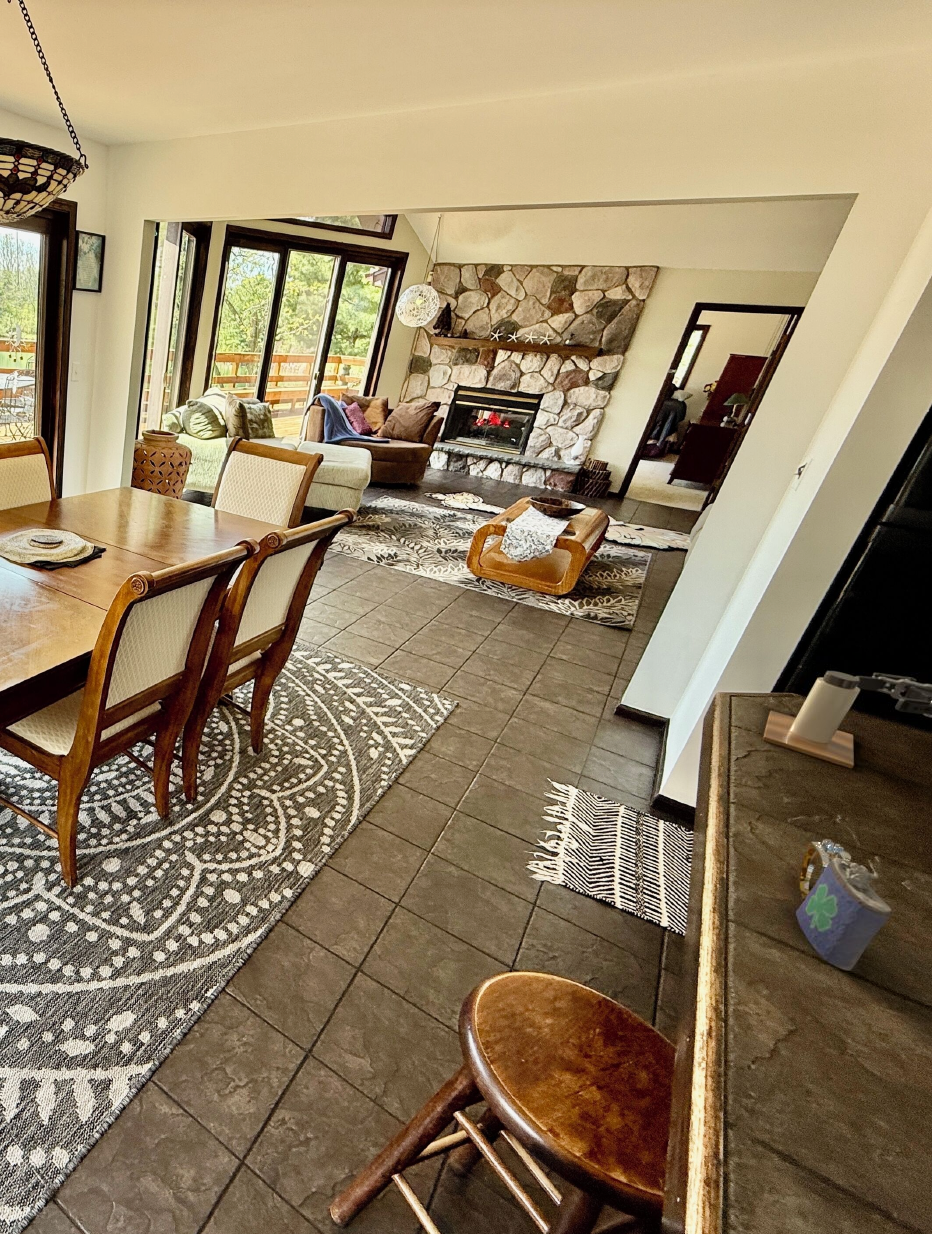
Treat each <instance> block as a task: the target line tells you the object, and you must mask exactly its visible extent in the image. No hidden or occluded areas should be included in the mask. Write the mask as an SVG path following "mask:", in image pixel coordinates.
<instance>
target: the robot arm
mask: <svg viewBox="0 0 932 1234" xmlns="http://www.w3.org/2000/svg"><path fill="white" fill-rule="evenodd" d="M855 677H856V678H858V679H859V680H860V681H859V683H858V685H857V687H858V688H859V689H860V690H865V691H874V692H880V693H884V694H888V695H890V697H891V698H892V699H895V700H898V702H897V703H896V705H895V706H894V709H895V710H897V711H899V712H902V713H909V714H918V715H923V716H925V717H927V718H932V684H931V683H920V682H917V679H916V678H914V677H911V676H903V675H897V674H896V675H895V674H889V673H881V672H873V674H872V676H866V675H865V676H863V675H856V676H855ZM901 693H906V694H905V695H902V694H901Z"/></svg>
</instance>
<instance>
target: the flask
mask: <svg viewBox="0 0 932 1234" xmlns="http://www.w3.org/2000/svg"><path fill="white" fill-rule="evenodd" d="M841 858H842V857H838V858H833V859H829V864H828V866H827V867H826V869H825V870H824V872H823V873H822V874H821V873H820V875H821V876H820V875H819V877H818V880H817V881H816V882H815V884H814V886H813V887H812V888H811V890H809V891H810V893H809V894H808V895H807V897H806V899H805V900H804V899H803V900H804V901H802V903H801V904H800V906H799V907H798V909H796V911H795V915H796V918H797V921H798V925H799V926H800V928H801V930H802V932H803V934H804V935H805V938H806V939H807V940H808V942H809V943H810V944H811V946H812V947H813V948H814V949H815V950H816V952H817V953H818V954H819V956H820V957H822V958H823V959H824V960H825V962H827V963H829V964H831V965H832V966H834V967H836V968H838V969H841V970H843V971H852V969H853V967H854V966H856V964H857V962H858V961H859V960H860V958H861V956H862V954H863V953H864V952H865V950H866V948H867V947H868V946H869V945H870V944H871V942H872V940H873V939H874V938H875V936H876V935H877V934H878V932H879V931H880V930H881V928H882V927H883V925H884V924H885V923H886V922H887V919H889V917H890V916H891V915H893V909H892V908H891V906H889V904H887V903H886V902H885V900H883V899H882V898H881V896H879V894H878V893H877V892H875V890H874V888H872V886H871V885H870V884H872V882H873V881H872V880H877V879H879V873H878V872H874V873H872V872H870V871H869V869H868V868H867V867H865V866H864V865H859V864H858V863H857V862H856V863H855V862H852V861H847V860H844V859H841Z"/></svg>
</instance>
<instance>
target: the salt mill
mask: <svg viewBox="0 0 932 1234" xmlns="http://www.w3.org/2000/svg"><path fill="white" fill-rule="evenodd" d="M859 681H860V680H859V679H858V678H856V676H854V675H852V674H848V673H844V672H840V671H835V670H827V671H826V672H825V674H824V676H823V677H817V678H816V680H815V682H814V684H813V686H812V687H811V689H810V691H809V693H808V694H807V697H806V699H805V700H804V701H803V704H802V706H801V708H800V710H799V711H798V713H797V715H796V717H795V718H796V719H795V720H794V722H793V724H792V726H791V728H790V731H791V732H792V733H794V734H795V735H797V736H800V737H802V738H805V739H807V740H811V741H814V742H819V743H830V741H831V740H832V738H833V736H834V735H835V733H836V731H837V730H838V729H839V728H840V726H841V724H842V722H843V721H844V719H845V717H846V715H848V712H849V710H850V709H851V707H852V705H853V704H854V702H855V700H856V698H857V697H858V695H859V694H860V692H861V689H859V688H858V687H857V685H858V683H859Z"/></svg>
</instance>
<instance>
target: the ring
mask: <svg viewBox="0 0 932 1234" xmlns="http://www.w3.org/2000/svg"><path fill="white" fill-rule="evenodd" d="M840 856H841V857H840ZM839 857H840V858H841V859H844V860H847V861H849V862H851V859H852V856H851V854H850V853H849V852H847V851H845V849H844V847H843V846H841V844H840V843H835V842H833V841H832V839H830V838H825V839H823V840H822V842H819V841H811V842H810V843H808V845H807V847H806V850H805V852H804V856H803V859H802V862H801V865H800V870H799V873H798V874H799V875H798V880H797V881H798V885H799V891H800V892H801V899H802V900H805V899H806V897H807V895H808V894H809V893H810V891H811V890H809V887H810V880H811V877H812V873H813V871H814V868H815V866H816V864H817V863H818V862H819V860H820V862H821V870H820V875H819V877H820V876H821V874H822V873H823V872H824V870H825V869H826V867H827V866H828V864H829V862H830V860H832V859H833V858H839Z"/></svg>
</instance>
